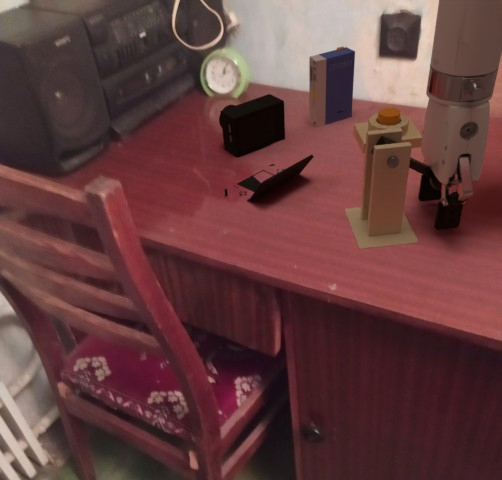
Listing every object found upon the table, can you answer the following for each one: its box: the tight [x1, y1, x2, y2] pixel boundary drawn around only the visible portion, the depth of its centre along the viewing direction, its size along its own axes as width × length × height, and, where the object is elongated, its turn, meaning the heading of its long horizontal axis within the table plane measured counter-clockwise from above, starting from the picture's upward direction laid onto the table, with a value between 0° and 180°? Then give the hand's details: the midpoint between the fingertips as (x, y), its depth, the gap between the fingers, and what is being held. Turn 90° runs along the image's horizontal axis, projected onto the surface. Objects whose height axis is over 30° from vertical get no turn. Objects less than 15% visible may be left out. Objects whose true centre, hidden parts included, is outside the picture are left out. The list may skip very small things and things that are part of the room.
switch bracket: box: [343, 128, 420, 250], centre depth 77 cm, size 8×10×14 cm
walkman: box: [308, 45, 356, 128], centre depth 104 cm, size 8×3×12 cm, turn 117°
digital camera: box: [218, 93, 286, 158], centre depth 101 cm, size 10×5×7 cm, turn 124°
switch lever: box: [371, 136, 456, 191], centre depth 75 cm, size 12×3×3 cm
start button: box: [378, 107, 401, 126], centre depth 99 cm, size 4×4×2 cm
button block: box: [353, 112, 422, 154], centre depth 100 cm, size 10×8×4 cm
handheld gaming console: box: [224, 154, 314, 203], centre depth 90 cm, size 12×7×10 cm
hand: (437, 212), depth 80 cm, fingers open, 6 cm apart
